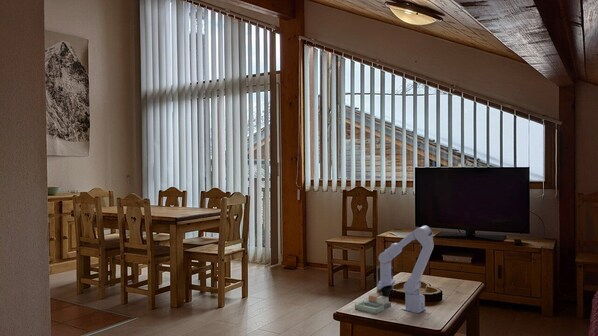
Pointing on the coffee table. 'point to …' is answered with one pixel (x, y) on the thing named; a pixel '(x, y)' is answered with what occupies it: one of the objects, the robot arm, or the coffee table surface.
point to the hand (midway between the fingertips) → (386, 299)
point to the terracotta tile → (373, 297)
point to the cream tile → (382, 300)
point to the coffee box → (379, 279)
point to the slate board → (376, 304)
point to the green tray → (368, 308)
